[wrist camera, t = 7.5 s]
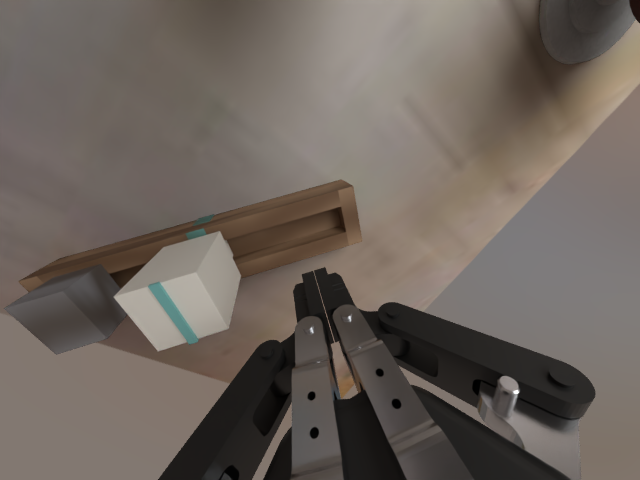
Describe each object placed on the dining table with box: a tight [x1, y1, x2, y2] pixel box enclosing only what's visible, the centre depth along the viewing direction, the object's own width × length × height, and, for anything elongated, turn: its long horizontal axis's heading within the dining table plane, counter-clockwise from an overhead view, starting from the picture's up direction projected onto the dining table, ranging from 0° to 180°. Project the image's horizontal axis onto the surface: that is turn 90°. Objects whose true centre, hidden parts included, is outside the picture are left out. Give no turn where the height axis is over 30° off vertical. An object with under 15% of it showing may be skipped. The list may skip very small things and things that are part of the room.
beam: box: [4, 180, 362, 354], centre depth 21 cm, size 6×30×8 cm, turn 103°
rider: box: [114, 231, 241, 351], centre depth 19 cm, size 5×5×9 cm
